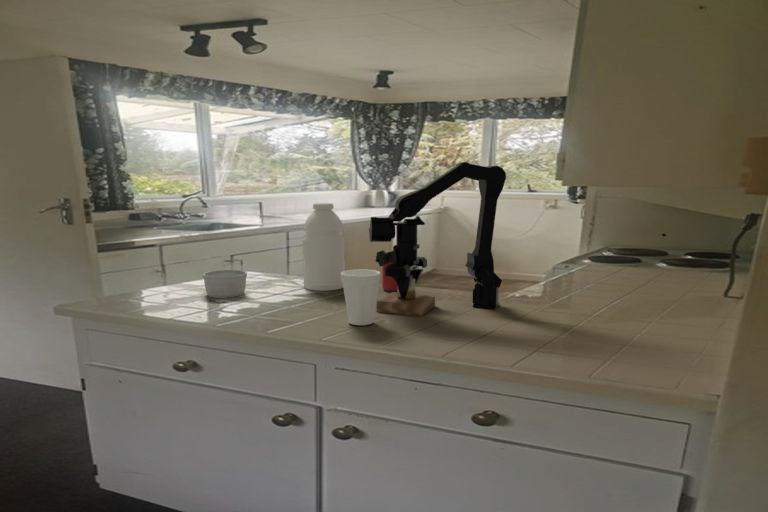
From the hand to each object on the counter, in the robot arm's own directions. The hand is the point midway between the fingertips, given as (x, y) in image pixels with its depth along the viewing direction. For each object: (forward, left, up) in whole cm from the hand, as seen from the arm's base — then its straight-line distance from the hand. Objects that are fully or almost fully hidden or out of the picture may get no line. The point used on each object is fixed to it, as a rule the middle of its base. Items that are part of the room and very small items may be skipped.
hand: (406, 296), depth 148 cm
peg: (0, 0, -3) cm, 3 cm away
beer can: (+13, -22, -4) cm, 26 cm away
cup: (+5, +19, -4) cm, 20 cm away
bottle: (+36, -17, -4) cm, 40 cm away
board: (0, 0, -4) cm, 4 cm away
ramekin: (+59, +5, -4) cm, 59 cm away
